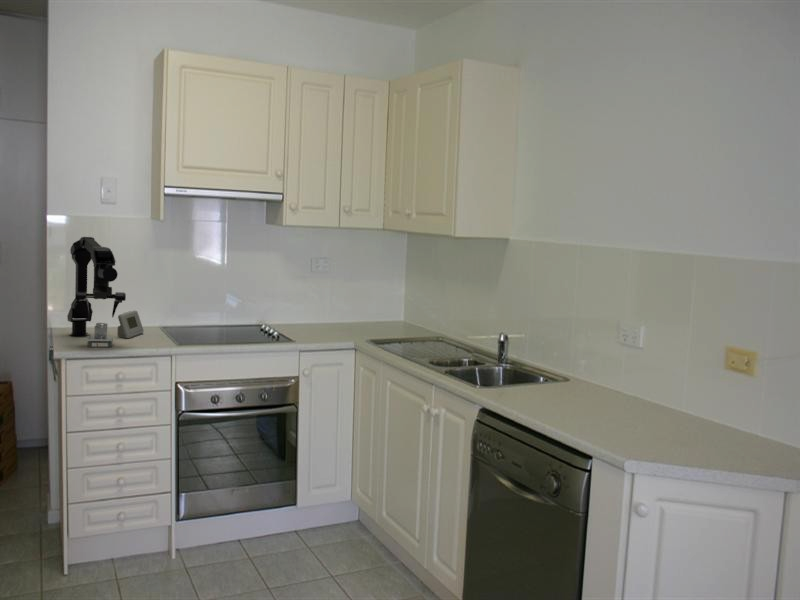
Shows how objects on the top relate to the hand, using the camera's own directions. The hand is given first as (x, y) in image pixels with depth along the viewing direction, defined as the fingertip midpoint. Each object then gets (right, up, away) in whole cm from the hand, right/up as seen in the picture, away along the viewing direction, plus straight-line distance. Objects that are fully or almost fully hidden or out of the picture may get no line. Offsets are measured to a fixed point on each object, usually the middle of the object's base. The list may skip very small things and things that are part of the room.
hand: (100, 317), depth 301 cm
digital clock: (+2, -9, +28) cm, 30 cm away
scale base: (-2, -12, +4) cm, 12 cm away
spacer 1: (-2, -8, +6) cm, 10 cm away
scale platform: (-2, -9, +4) cm, 10 cm away
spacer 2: (-1, -9, +1) cm, 9 cm away
